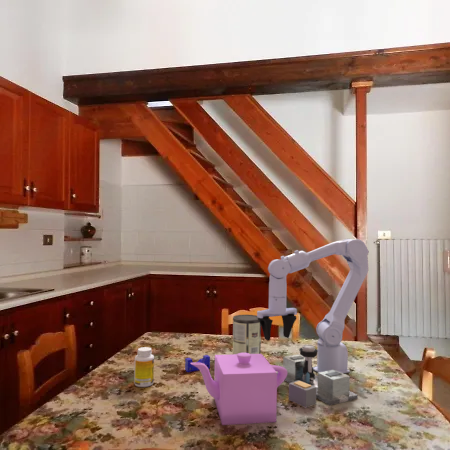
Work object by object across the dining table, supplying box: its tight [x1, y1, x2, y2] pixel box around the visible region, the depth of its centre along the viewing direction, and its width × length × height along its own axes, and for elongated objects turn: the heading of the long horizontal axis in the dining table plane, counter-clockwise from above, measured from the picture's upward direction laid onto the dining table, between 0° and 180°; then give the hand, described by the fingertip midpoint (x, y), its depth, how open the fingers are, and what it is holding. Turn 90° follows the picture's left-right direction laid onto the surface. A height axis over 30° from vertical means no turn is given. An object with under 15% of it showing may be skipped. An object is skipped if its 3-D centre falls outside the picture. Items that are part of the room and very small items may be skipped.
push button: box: [298, 344, 318, 383], centre depth 120 cm, size 7×5×10 cm
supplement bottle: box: [133, 346, 155, 388], centre depth 118 cm, size 6×6×10 cm
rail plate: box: [276, 353, 359, 406], centre depth 118 cm, size 10×24×6 cm, turn 28°
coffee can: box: [232, 314, 262, 354], centre depth 146 cm, size 10×10×14 cm
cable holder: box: [184, 354, 211, 373], centre depth 132 cm, size 8×4×4 cm, turn 120°
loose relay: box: [288, 380, 317, 409], centre depth 107 cm, size 4×6×5 cm, turn 38°
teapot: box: [190, 353, 288, 426], centre depth 102 cm, size 15×25×14 cm, turn 99°
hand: (276, 338), depth 131 cm, fingers open, 7 cm apart
